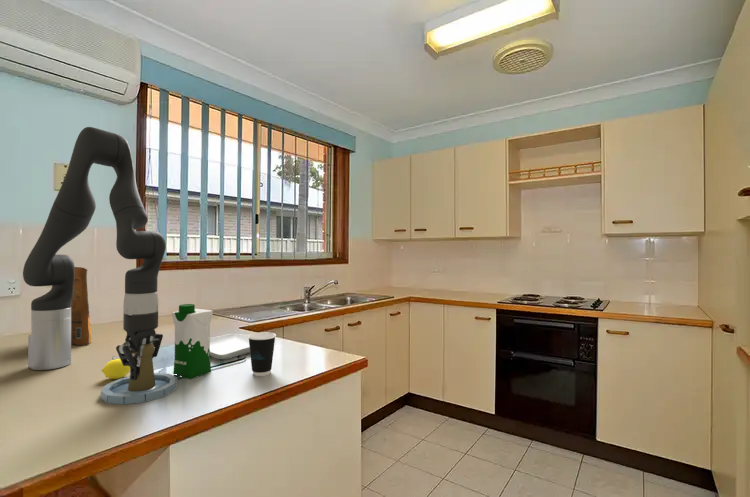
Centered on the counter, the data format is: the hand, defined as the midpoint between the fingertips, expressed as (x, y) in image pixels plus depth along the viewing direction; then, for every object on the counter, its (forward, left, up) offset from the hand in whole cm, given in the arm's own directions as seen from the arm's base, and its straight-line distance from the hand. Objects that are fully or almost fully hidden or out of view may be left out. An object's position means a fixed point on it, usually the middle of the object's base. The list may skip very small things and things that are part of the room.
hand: (140, 378), depth 98 cm
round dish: (0, 0, -3) cm, 3 cm away
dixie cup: (+24, +18, -3) cm, 30 cm away
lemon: (-13, +7, -3) cm, 15 cm away
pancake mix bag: (-57, +38, -3) cm, 69 cm away
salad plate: (+3, +38, -4) cm, 38 cm away
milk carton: (+5, +14, -3) cm, 15 cm away
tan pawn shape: (0, 0, -2) cm, 2 cm away
